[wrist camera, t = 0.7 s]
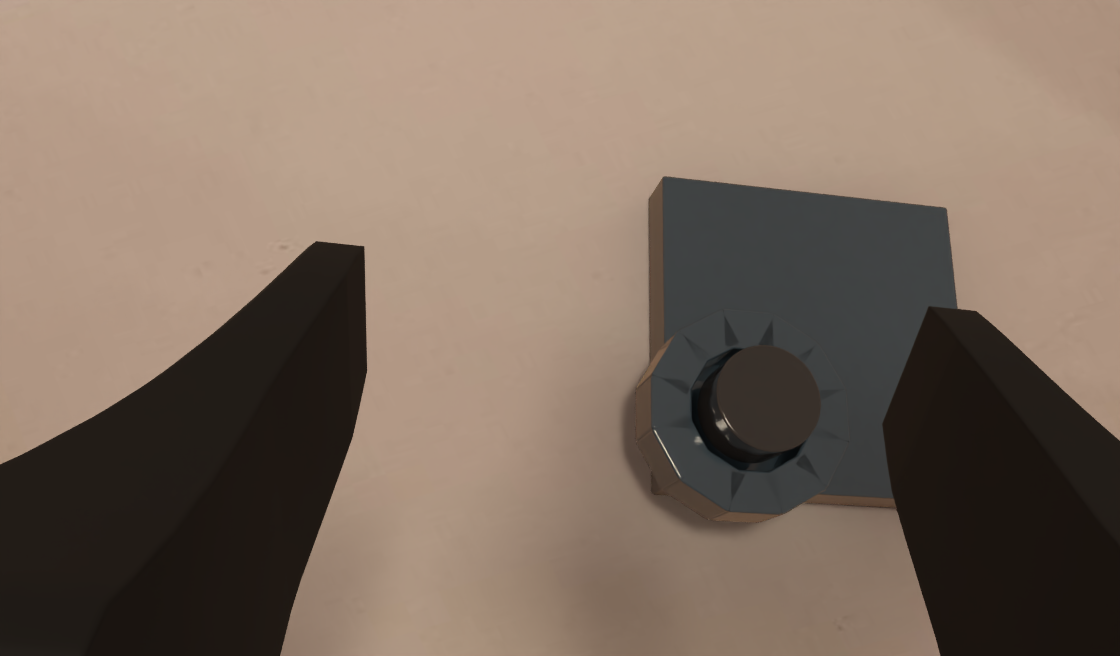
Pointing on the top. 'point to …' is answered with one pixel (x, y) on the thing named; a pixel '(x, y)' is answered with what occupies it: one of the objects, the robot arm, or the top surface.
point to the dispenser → (783, 333)
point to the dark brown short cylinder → (759, 404)
